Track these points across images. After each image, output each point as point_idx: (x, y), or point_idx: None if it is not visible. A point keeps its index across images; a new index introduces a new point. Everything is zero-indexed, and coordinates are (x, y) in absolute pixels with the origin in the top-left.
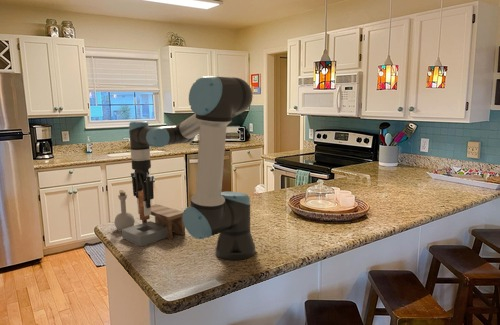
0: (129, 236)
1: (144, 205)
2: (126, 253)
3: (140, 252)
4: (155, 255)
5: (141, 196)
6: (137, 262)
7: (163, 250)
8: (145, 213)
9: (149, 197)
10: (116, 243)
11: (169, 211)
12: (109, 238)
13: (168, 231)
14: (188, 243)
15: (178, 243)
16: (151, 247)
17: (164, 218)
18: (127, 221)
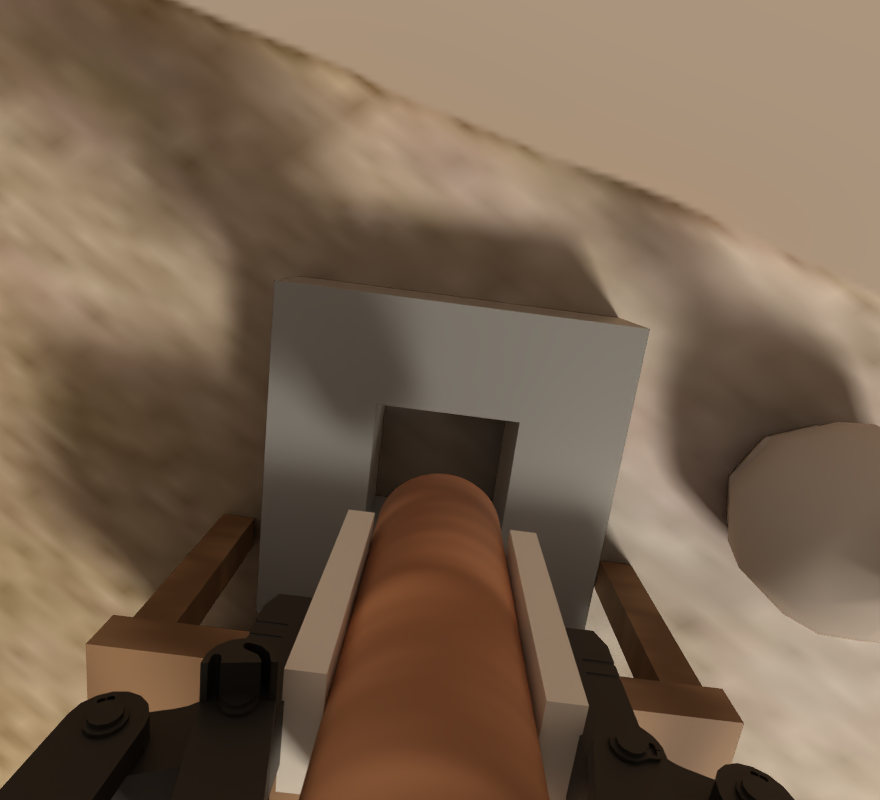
0: (490, 305)
1: (316, 602)
2: (277, 91)
3: (192, 183)
4: (31, 211)
5: (355, 745)
6: (18, 8)
7: (71, 326)
8: (341, 531)
9: (44, 764)
10: (567, 203)
11: (275, 795)
12: (739, 251)
13: (202, 551)
14: (36, 536)
15: (100, 496)
16: (210, 316)
17: (196, 632)
18: (772, 510)
